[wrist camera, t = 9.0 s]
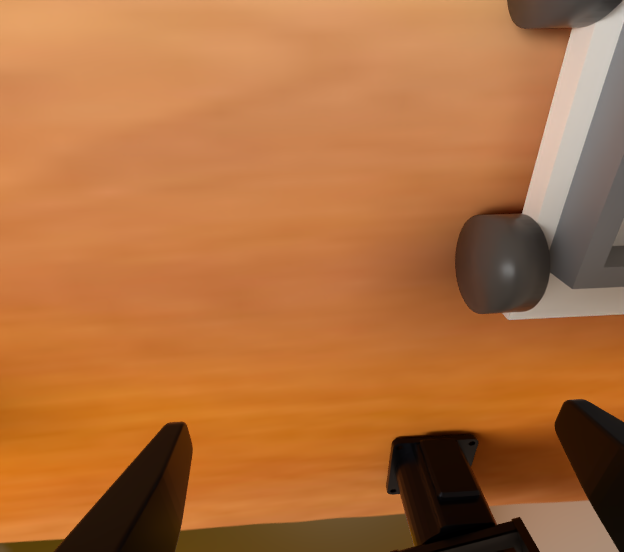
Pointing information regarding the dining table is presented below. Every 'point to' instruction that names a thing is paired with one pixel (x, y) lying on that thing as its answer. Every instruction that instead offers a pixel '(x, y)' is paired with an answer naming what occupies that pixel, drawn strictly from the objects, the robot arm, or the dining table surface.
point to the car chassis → (562, 185)
